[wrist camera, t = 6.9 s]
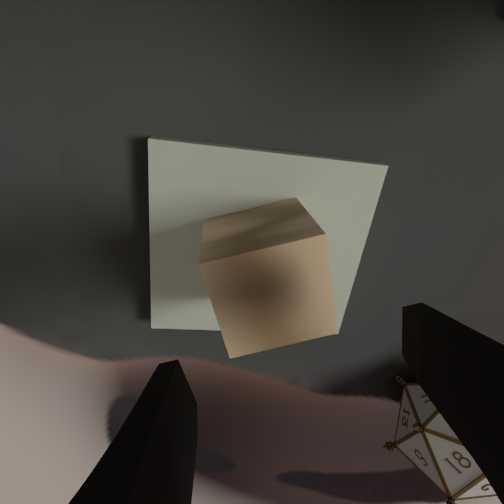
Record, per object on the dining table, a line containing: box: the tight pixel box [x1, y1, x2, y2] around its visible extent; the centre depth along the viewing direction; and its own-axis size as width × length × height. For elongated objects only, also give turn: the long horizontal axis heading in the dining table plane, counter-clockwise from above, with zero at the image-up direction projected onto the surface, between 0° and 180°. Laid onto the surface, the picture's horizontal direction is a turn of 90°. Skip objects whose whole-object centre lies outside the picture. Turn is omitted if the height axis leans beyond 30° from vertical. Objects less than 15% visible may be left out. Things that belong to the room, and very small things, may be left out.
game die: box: [383, 375, 497, 504], centre depth 22 cm, size 9×8×10 cm
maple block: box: [198, 198, 337, 358], centre depth 15 cm, size 5×5×5 cm
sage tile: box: [148, 136, 388, 334], centre depth 18 cm, size 12×11×1 cm
